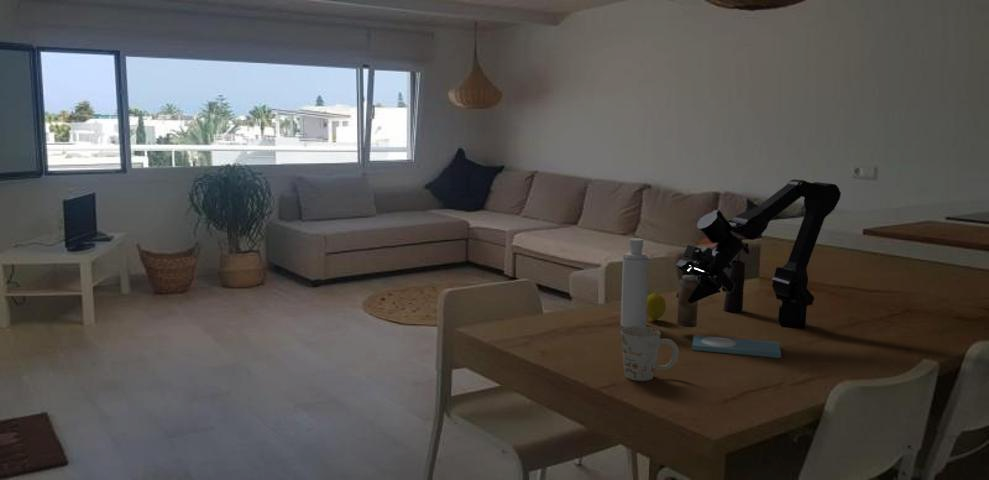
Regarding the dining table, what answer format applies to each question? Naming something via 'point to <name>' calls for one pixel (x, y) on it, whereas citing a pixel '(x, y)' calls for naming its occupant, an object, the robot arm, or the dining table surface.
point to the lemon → (655, 306)
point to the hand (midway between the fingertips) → (683, 300)
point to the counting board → (736, 346)
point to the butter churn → (736, 286)
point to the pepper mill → (685, 309)
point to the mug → (643, 352)
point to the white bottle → (634, 285)
